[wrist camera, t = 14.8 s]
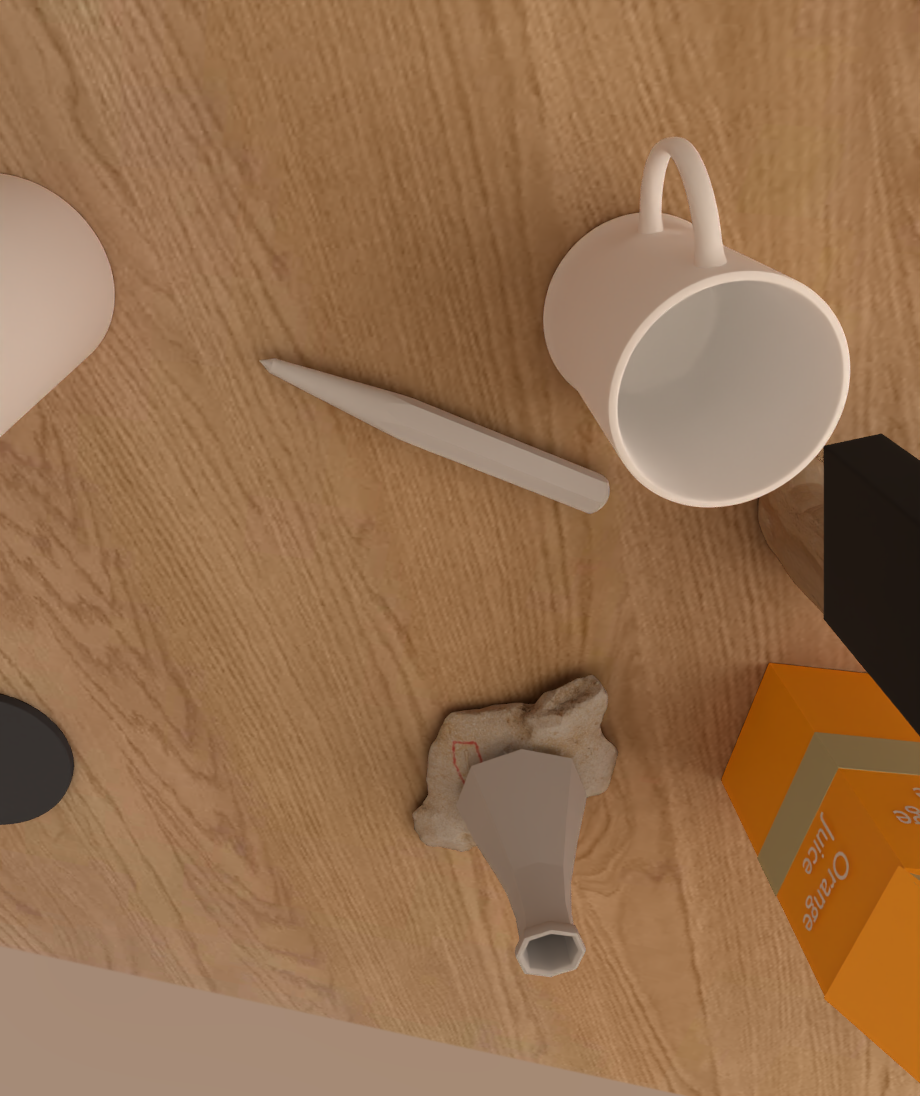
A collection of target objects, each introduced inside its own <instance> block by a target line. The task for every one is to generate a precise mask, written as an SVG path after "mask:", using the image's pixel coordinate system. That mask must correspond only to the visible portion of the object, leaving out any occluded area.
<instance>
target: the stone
mask: <svg viewBox="0 0 920 1096" xmlns="http://www.w3.org/2000/svg"><path fill="white" fill-rule="evenodd" d="M607 704H608V695H607V692H606V690H605V689H604V687H603V686H602V684H601V683H600V681H599V680H598V679H597V678H596V677H595V676H593V675H589V676H587V677H584V678H577V679H575V680H574V681H572V682H569V683H567V684H565V685H563V686H561V687H559V688H557V689H555V690H552V691H548V692H545V693H544V694H543V695H542V696H541V697H540V698H539V699H538V701H537V702H536V703H535V704H524V703H509V704H500V705H491V706H488V707H485V708H482V709H473V710H463V711H457V712H452V713H450V714H449V715H448V716H447V717H446V719H445V720H444V722H443V725H442V727H441V729H440V731H439V733H438V736H437V738H436V740H435V741H434V742H433V743H432V745H431V747H430V751H429V755H428V770H427V778H426V781H427V784H428V796H427V797H426V799H425V800H424V802H423V804H422V805H421V806H420V807H419V808H418V809H416V810H415V811H414V813H413V819H414V829H415V831H416V832H417V833H418V834H419V838H420V840H421V841H422V842H423V843H425V844H426V845H428V846H432V847H443V848H449V849H453V850H457V851H461V852H462V851H469V850H470V849H471V848H472V847H474V846H477V845H476V843H475V841H474V839H473V838H472V836H471V834H470V832H469V830H468V828H467V826H466V824H465V822H464V820H463V818H462V816H461V814H460V812H459V810H458V808H457V806H456V804H457V802H458V799H459V796H460V794H461V791H462V789H463V786H464V783H465V781H466V778H467V776H468V773H469V770H470V768H471V766H473V765H476V764H479V763H482V762H485V761H488V760H491V759H494V758H497V757H500V756H503V755H506V754H509V753H512V752H515V751H518V750H520V749H524V750H529V751H535V752H540V753H545V754H551V755H556V756H562V757H567V758H572V760H573V762H574V765H575V767H576V770H577V772H578V775H579V777H580V780H581V782H582V784H583V787H584V789H585V792H586V794H587V797H586V798H588V797H590V796H594V795H599V794H601V793H603V792H604V791H606V790H607V788H608V786H609V784H610V780H611V776H612V773H613V770H614V767H615V763H616V759H617V756H618V750H617V748H616V747H615V746H614V745H613V744H612V743H611V742H609V741H608V740H607V739H605V737H604V735H603V734H602V732H601V727H600V724H601V722H602V719H603V715H604V712H605V711H606V709H607Z"/></svg>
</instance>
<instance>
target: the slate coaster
mask: <svg viewBox="0 0 920 1096" xmlns="http://www.w3.org/2000/svg"><path fill="white" fill-rule="evenodd" d="M73 770H74V762H73V755H72V751H71V748H70V746H69V743H68V741H67V739H66V738H65V736H64V735H63V733H62V732H61V730H60V729H59V728H58V727H57V726H56V725H55V724H54V723H53V722H52V721H51V720H50V719H49V718H48V717H47V716H45V715H44V714H43V713H41V712H40V711H39V710H37V709H35V708H33V707H32V706H30V705H28V704H26V703H24V702H22V701H20V700H17V699H14V698H12V697H9V696H5V695H1V694H0V825H5V824H14V823H20V822H24V821H28V820H31V819H34V818H36V817H39V816H40V815H42V814H44V813H46V812H48V811H49V810H50V809H52V808H53V807H54V806H55V805H56V804H57V803H58V802H59V801H60V800H61V799H62V798H63V796H64V795H65V793H66V791H67V789H68V787H69V785H70V782H71V780H72V776H73Z"/></svg>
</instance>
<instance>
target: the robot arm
mask: <svg viewBox="0 0 920 1096" xmlns="http://www.w3.org/2000/svg"><path fill="white" fill-rule="evenodd" d="M824 620H825V621H826V622H827V624H828V625H829V626H830V627H831V628H832V630H833V631H834V632H835V633H836V635H837V636H838V637H839V638H840V639H841V641H842V642H843V643H844V644H845V646H846V647H847V648H848V649H849V650H850V652H851V653H852V654H853V655H854V657H855V658H856V659H857V660H858V661H859V663H860V664H861V665H862V666H863V668H864V669H865V670H866V671H867V673H868V674H869V675H870V676H871V677H872V679H873V680H874V681H875V682H876V684H877V685H878V686H879V687H880V688H881V690H882V691H883V692H884V693H885V695H886V696H887V697H888V698H889V699H890V701H891V702H892V703H893V704H894V706H895V707H896V708H897V709H898V710H899V712H900V713H901V714H902V715H903V717H904V718H905V719H906V720H907V721H908V723H909V724H910V725H911V726H912V728H913V729H914V730H915V731H916V732H917V734H918V735H919V736H920V460H918V459H917V458H915V457H914V456H913V455H911V454H910V453H908V452H907V451H905V450H904V449H903V448H901V447H900V446H898V445H897V444H896V443H894V442H893V441H891V440H890V439H889V438H887V437H886V436H884V435H883V434H878V435H873V436H868V437H864V438H859V439H854V440H850V441H845V442H840V443H836V444H831V445H826V446H824Z"/></svg>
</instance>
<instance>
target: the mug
mask: <svg viewBox="0 0 920 1096" xmlns="http://www.w3.org/2000/svg"><path fill="white" fill-rule="evenodd" d="M670 157H672V159H673V160H674V162H675V164H676V166H677V168H678V170H679V172H680V175H681V178H682V181H683V184H684V187H685V191H686V194H687V198H688V203H689V207H690V213H691V218H692V223H690V222H688V221H686V220H684V219H682V218H679V217H676V216H673V215H669V214H664V213H662V212H661V206H662V191H663V183H664V177H665V172H666V168H667V165H668V162H669V159H670ZM543 327H544V335H545V341H546V345H547V348H548V351H549V354H550V356H551V358H552V360H553V362H554V364H555V366H556V368H557V369H558V371H559V372H560V374H561V375H562V376H563V377H564V379H565V380H566V381H567V382H568V383H569V384H570V385H571V386H572V387H574V388H575V389H576V390H577V391H578V392H579V394H580V395H581V397H582V399H583V400H584V402H585V403H586V405H587V407H588V408H589V410H590V411H591V413H592V415H593V416H594V418H595V419H596V421H597V422H598V424H599V426H600V427H601V429H602V430H603V432H604V434H605V435H606V437H607V438H608V440H609V442H610V443H611V445H612V446H613V448H614V450H615V451H616V453H617V454H618V456H619V458H620V459H621V461H622V462H623V464H624V465H625V466H626V468H627V469H628V470H629V472H630V473H631V474H632V475H633V476H634V477H635V478H636V479H637V480H638V481H639V482H640V483H641V484H642V485H644V486H645V487H646V488H648V489H649V490H650V491H652V492H654V493H655V494H657V495H659V496H661V497H663V498H665V499H668V500H670V501H673V502H676V503H679V504H683V505H688V506H695V507H723V506H730V505H735V504H740V503H743V502H747V501H750V500H753V499H756V498H758V497H761V496H763V495H765V494H767V493H769V492H771V491H773V490H775V489H777V488H778V487H780V486H782V485H783V484H785V483H786V482H788V481H789V480H791V479H792V478H793V477H794V476H796V475H797V474H798V473H799V472H801V471H802V470H803V469H804V468H805V467H806V466H807V465H808V464H809V463H810V462H811V461H812V460H813V459H814V458H815V457H816V455H817V454H818V453H819V452H820V451H821V449H822V448H823V447H824V445H825V444H826V442H827V441H828V439H829V438H830V436H831V434H832V433H833V431H834V429H835V427H836V425H837V423H838V421H839V419H840V416H841V414H842V411H843V408H844V405H845V402H846V398H847V394H848V388H849V381H850V357H849V350H848V345H847V341H846V338H845V335H844V332H843V329H842V327H841V325H840V323H839V321H838V319H837V317H836V316H835V314H834V313H833V311H832V310H831V308H830V307H829V306H828V305H827V304H826V302H825V301H824V300H823V299H822V298H821V297H820V296H819V295H817V294H816V293H815V292H814V291H813V290H811V289H810V288H808V287H807V286H805V285H804V284H802V283H800V282H799V281H797V280H795V279H793V278H791V277H789V276H787V275H785V274H782V273H780V272H778V271H776V270H774V269H772V268H770V267H768V266H766V265H764V264H762V263H759V262H757V261H755V260H753V259H751V258H749V257H747V256H745V255H743V254H741V253H738V252H736V251H734V250H732V249H730V248H728V247H726V246H724V245H723V243H722V236H721V228H720V222H719V216H718V210H717V205H716V201H715V196H714V192H713V189H712V185H711V182H710V179H709V176H708V173H707V170H706V167H705V165H704V163H703V161H702V159H701V157H700V155H699V153H698V152H697V150H696V149H695V147H694V146H693V145H692V144H691V143H690V142H689V141H688V140H686V139H684V138H681V137H669V138H665V139H662V140H660V141H659V142H657V143H656V144H655V145H654V146H653V148H652V149H651V151H650V153H649V155H648V158H647V160H646V164H645V168H644V172H643V177H642V184H641V194H640V213H633V214H628V215H624V216H620V217H617V218H614V219H612V220H610V221H607V222H605V223H603V224H601V225H600V226H598V227H596V228H595V229H593V230H592V231H590V232H589V233H587V234H586V235H585V236H584V237H582V238H581V239H580V240H579V241H578V242H577V243H576V244H575V245H574V246H573V247H572V248H571V249H570V250H569V252H568V253H567V254H566V255H565V257H564V258H563V260H562V261H561V263H560V264H559V266H558V268H557V269H556V271H555V273H554V275H553V277H552V280H551V282H550V285H549V288H548V291H547V295H546V299H545V304H544V313H543Z"/></svg>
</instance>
